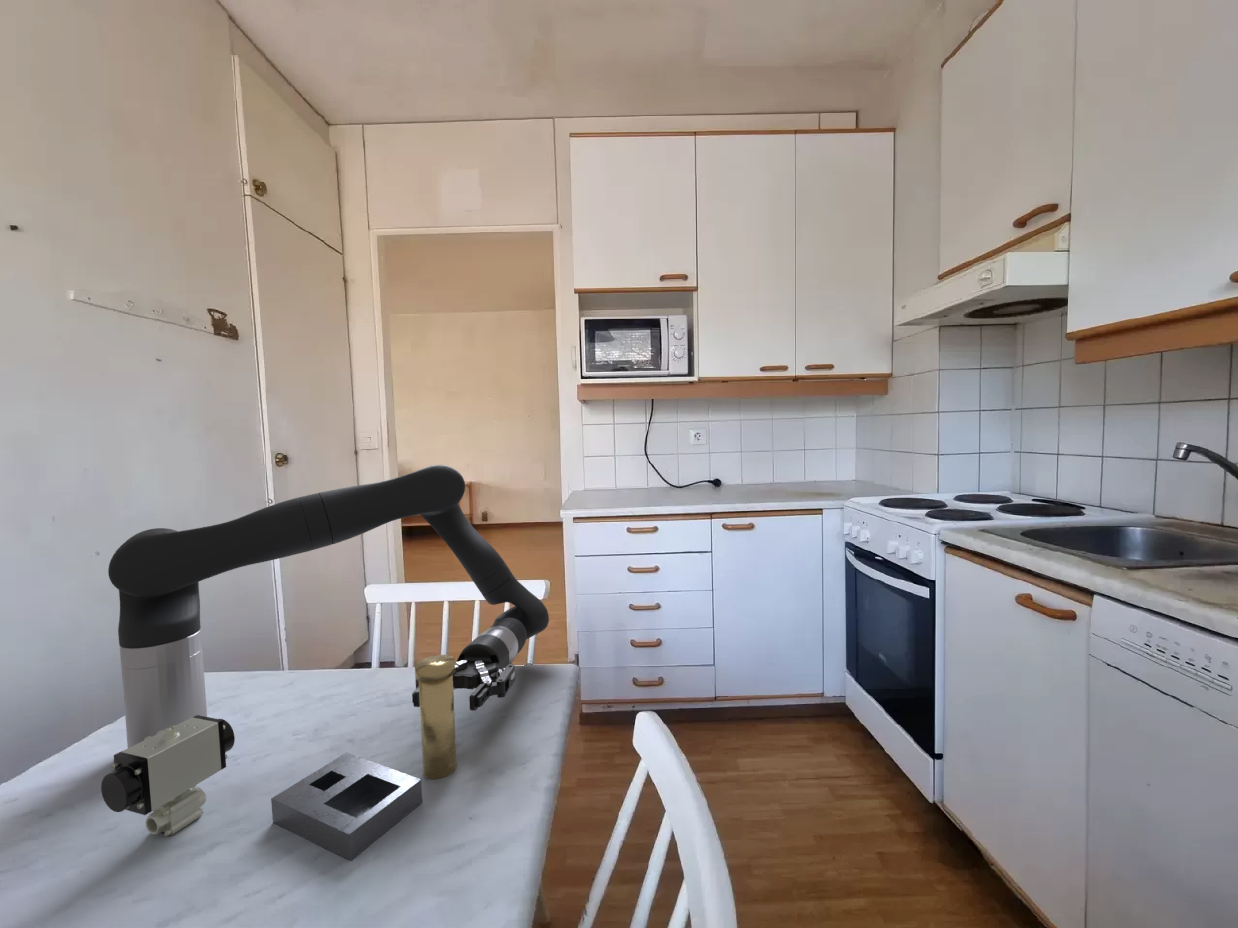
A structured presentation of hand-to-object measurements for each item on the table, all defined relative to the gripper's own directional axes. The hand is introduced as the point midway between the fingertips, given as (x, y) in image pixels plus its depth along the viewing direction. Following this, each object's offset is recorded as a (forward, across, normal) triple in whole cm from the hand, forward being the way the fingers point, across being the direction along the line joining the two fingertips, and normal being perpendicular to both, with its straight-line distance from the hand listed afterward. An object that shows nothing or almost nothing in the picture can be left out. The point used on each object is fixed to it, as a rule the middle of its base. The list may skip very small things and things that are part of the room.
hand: (443, 702), depth 74 cm
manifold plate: (+11, -7, +8) cm, 16 cm away
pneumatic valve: (+15, -27, +9) cm, 32 cm away
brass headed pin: (+2, 0, +8) cm, 9 cm away
